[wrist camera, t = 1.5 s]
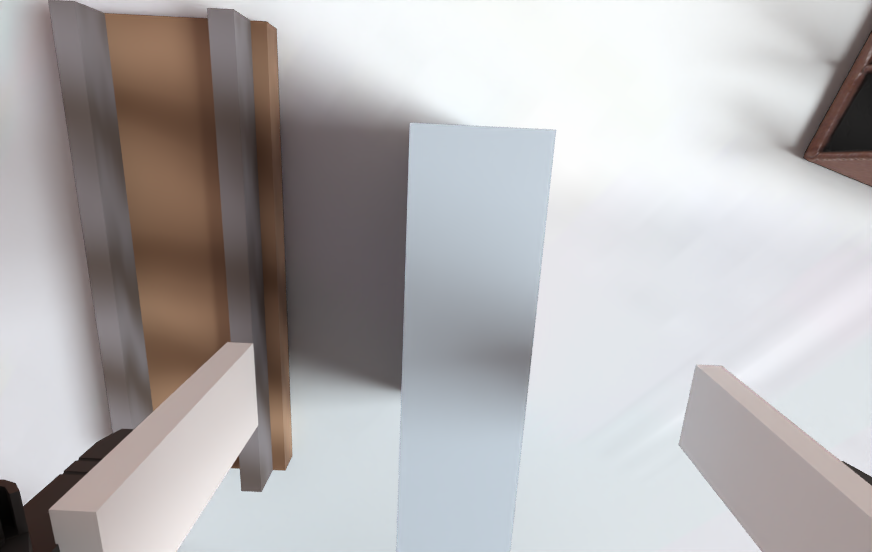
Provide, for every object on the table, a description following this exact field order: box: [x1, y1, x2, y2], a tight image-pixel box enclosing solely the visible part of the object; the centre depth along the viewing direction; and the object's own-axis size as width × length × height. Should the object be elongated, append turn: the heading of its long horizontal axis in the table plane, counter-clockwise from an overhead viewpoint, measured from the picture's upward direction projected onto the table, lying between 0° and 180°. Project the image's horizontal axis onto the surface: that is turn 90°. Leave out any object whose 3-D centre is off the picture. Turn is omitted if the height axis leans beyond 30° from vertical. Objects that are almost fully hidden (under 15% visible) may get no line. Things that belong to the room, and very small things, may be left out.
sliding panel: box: [396, 123, 556, 552], centre depth 22 cm, size 16×4×14 cm, turn 178°
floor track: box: [48, 0, 292, 492], centre depth 27 cm, size 26×10×4 cm, turn 178°
